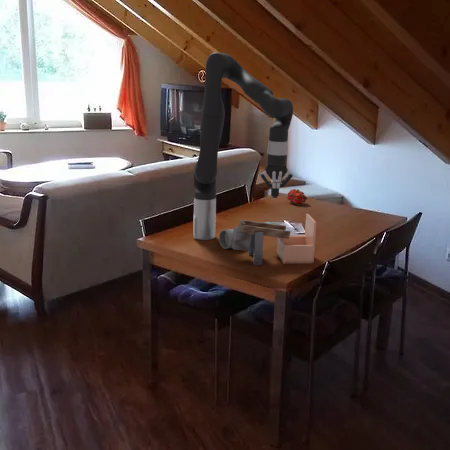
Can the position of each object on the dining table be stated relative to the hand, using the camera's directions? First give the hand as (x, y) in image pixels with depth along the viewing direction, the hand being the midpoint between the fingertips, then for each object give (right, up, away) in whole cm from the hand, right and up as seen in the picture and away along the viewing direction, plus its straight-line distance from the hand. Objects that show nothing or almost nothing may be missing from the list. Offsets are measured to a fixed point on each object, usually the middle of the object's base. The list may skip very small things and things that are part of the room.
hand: (274, 197), depth 213 cm
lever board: (-7, -19, +1) cm, 20 cm away
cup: (+8, -23, 0) cm, 25 cm away
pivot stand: (-8, -24, -2) cm, 25 cm away
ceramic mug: (-17, -19, +12) cm, 29 cm away
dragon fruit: (+19, +1, +81) cm, 84 cm away
